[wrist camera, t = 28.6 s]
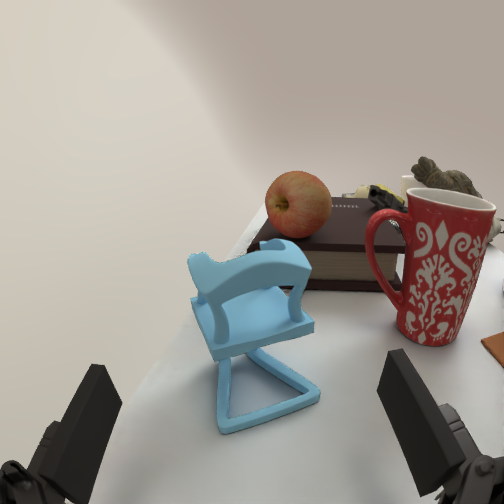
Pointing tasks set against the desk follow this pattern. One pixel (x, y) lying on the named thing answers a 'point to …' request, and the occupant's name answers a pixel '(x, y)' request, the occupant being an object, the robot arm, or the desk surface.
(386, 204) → the handgun
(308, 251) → the book
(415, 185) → the mug
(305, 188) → the apple
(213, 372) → the desk surface
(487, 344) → the cork mat
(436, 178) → the statue
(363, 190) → the toy
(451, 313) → the mug
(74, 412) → the robot arm
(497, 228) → the decorative bird
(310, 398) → the chair
